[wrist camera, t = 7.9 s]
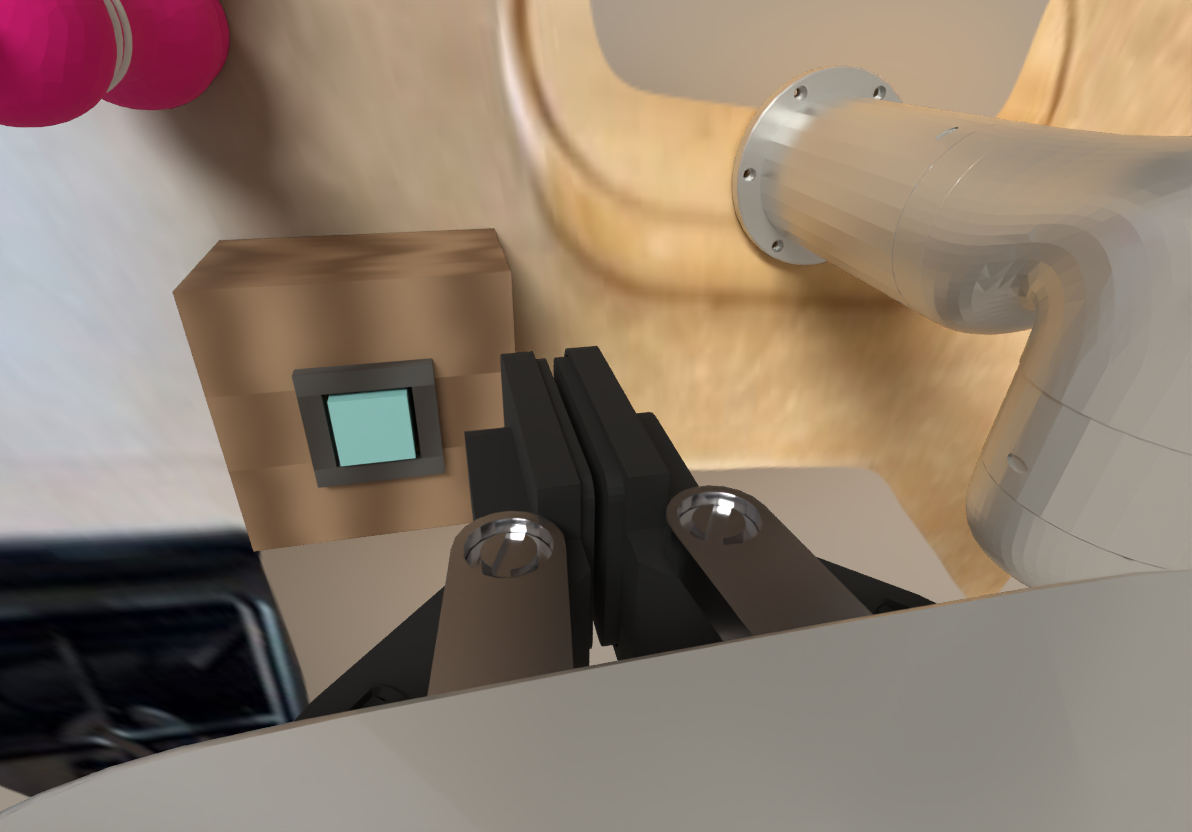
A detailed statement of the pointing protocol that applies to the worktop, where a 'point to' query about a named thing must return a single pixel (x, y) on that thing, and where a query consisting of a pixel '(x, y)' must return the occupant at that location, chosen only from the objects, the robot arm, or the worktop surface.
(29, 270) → the worktop surface
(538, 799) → the robot arm
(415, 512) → the socket block
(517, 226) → the worktop surface
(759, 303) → the worktop surface
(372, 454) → the peg
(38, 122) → the pepper mill
